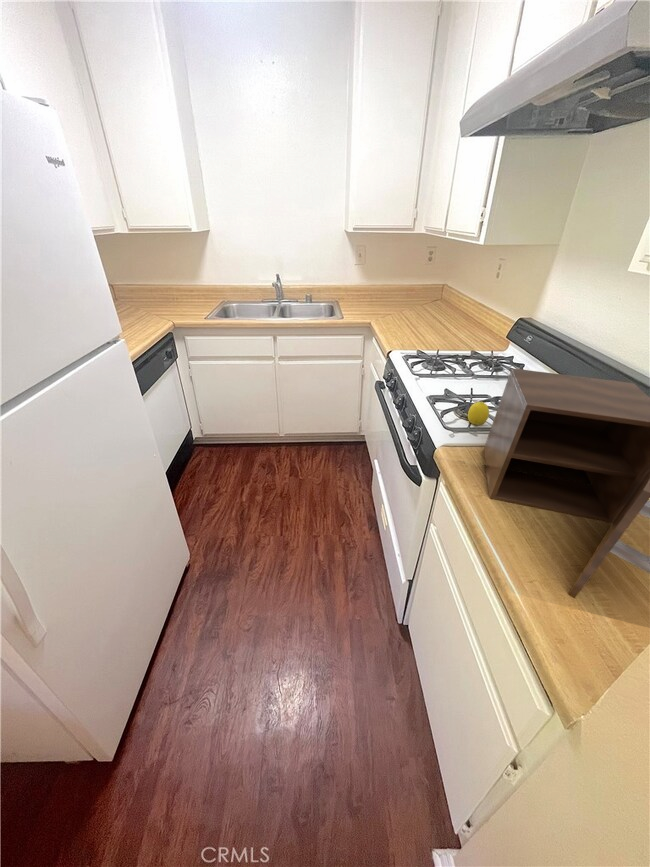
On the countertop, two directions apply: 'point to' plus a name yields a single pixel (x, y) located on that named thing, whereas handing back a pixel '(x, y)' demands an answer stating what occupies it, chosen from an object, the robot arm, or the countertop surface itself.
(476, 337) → the countertop surface
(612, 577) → the countertop surface
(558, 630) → the countertop surface
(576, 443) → the cupboard
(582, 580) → the door
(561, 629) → the countertop surface
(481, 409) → the lemon
